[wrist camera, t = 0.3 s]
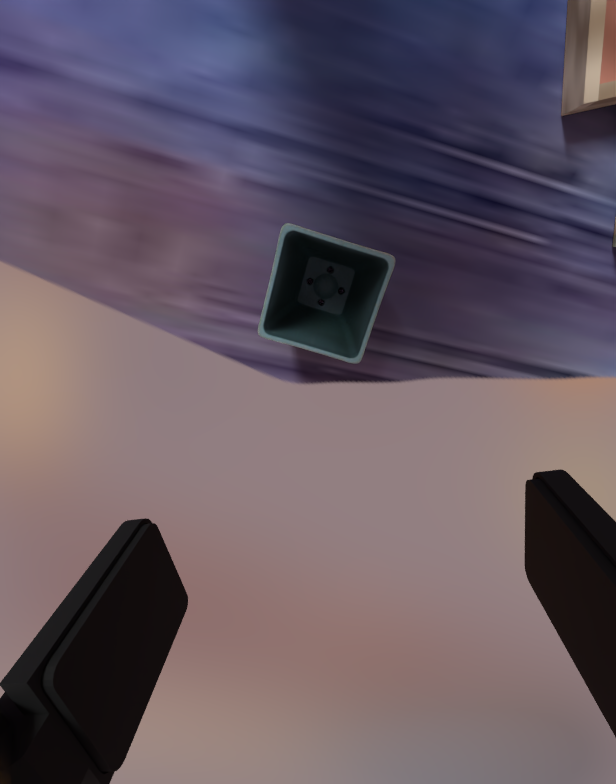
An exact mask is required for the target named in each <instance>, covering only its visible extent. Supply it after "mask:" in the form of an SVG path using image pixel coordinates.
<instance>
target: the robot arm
mask: <svg viewBox="0 0 616 784" xmlns="http://www.w3.org/2000/svg"><path fill="white" fill-rule="evenodd" d="M525 571H526V575H527V578H528V580H529V582H530V584H531V586H532V588H533V590H534V592H535V593H536V595H537V597H538V599H539V600H540V602H541V604H542V606H543V607H544V609H545V611H546V613H547V615H548V617H549V619H550V620H551V622H552V624H553V626H554V627H555V629H556V631H557V633H558V635H559V636H560V638H561V640H562V642H563V643H564V645H565V647H566V649H567V651H568V653H569V654H570V656H571V658H572V660H573V662H574V663H575V665H576V667H577V669H578V671H579V672H580V674H581V676H582V678H583V679H584V681H585V683H586V685H587V686H588V688H589V690H590V692H591V694H592V696H593V697H594V699H595V701H596V703H597V705H598V706H599V708H600V710H601V712H602V713H603V715H604V717H605V719H606V721H607V722H608V724H609V726H610V728H611V730H612V731H613V733H614V735H615V737H616V522H615V521H614V520H613V519H612V518H611V517H610V516H609V515H608V514H607V513H606V512H605V511H604V510H603V509H602V507H601V506H600V505H599V504H598V503H597V502H596V501H594V499H593V498H592V497H591V496H590V495H589V494H587V492H586V491H585V490H584V489H583V488H582V487H581V486H580V485H579V484H578V483H577V482H576V481H575V480H574V479H573V478H572V477H571V476H570V475H569V474H568V473H567V472H566V471H564V470H553V471H545V472H537V473H534V475H533V479H532V480H527V481H526V492H525ZM187 605H188V596H187V594H186V591H185V589H184V586H183V584H182V582H181V579H180V577H179V575H178V573H177V570H176V568H175V566H174V563H173V561H172V559H171V556H170V554H169V552H168V550H167V547H166V545H165V543H164V540H163V538H162V536H161V533H160V531H159V529H158V527H157V525H156V524H153V523H152V522H151V521H150V520H149V519H137V520H129V521H125V522H124V523H123V524H122V525H121V526H120V527H119V529H118V530H117V531H116V532H115V534H114V535H113V536H112V538H111V539H110V540H109V541H108V543H107V544H106V545H105V547H104V548H103V549H102V551H101V552H100V553H99V554H98V556H97V557H96V558H95V560H94V561H93V562H92V564H91V565H90V566H89V568H88V569H87V570H86V571H85V573H84V574H83V575H82V577H81V578H80V579H79V581H78V582H77V584H76V585H75V586H74V587H73V588H72V590H71V591H70V592H69V594H68V595H67V596H66V598H65V599H64V600H63V602H62V603H61V604H60V605H59V607H58V608H57V609H56V611H55V612H54V613H53V615H52V616H51V617H50V619H49V620H48V621H47V623H46V624H45V625H44V626H43V628H42V629H41V630H40V632H39V633H38V634H37V636H36V637H35V638H34V640H33V641H32V642H31V643H30V645H29V646H28V647H27V649H26V650H25V651H24V653H23V654H22V655H21V657H20V658H19V659H18V660H17V662H16V663H15V664H14V666H13V667H12V668H11V670H10V671H9V672H8V674H7V675H6V676H5V677H4V679H3V680H2V681H1V683H0V686H1V687H2V688H3V690H4V691H5V693H4V694H3V695H2V697H1V698H0V784H109V783H110V781H111V779H112V776H113V774H114V771H117V770H118V769H119V768H120V767H121V765H122V764H123V762H124V760H125V758H126V755H127V753H128V750H129V747H130V746H131V743H132V741H133V738H134V736H135V733H136V731H137V729H138V726H139V724H140V721H141V719H142V716H143V714H144V711H145V709H146V706H147V704H148V702H149V699H150V697H151V695H152V692H153V690H154V687H155V685H156V682H157V680H158V677H159V675H160V673H161V670H162V668H163V665H164V663H165V661H166V658H167V656H168V653H169V651H170V649H171V646H172V644H173V641H174V639H175V636H176V634H177V631H178V629H179V627H180V624H181V622H182V619H183V617H184V614H185V612H186V609H187Z"/></svg>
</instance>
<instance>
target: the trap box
mask: <svg viewBox="0 0 616 784" xmlns="http://www.w3.org/2000/svg"><path fill="white" fill-rule="evenodd" d="M615 104H616V0H568V6H567V23H566V41H565V59H564V76H563V94H562V111H561V116H565V115H569V114H574V113H578V112H583V111H588V110H592V109H597V108H601V107H606V106H610V105H615ZM612 247H616V219H615V228H614V237H613V246H612Z"/></svg>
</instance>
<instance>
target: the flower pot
mask: <svg viewBox="0 0 616 784" xmlns="http://www.w3.org/2000/svg"><path fill="white" fill-rule="evenodd" d="M394 266H395V258H394V256H393V255H391V254H388V253H385V252H381V251H378V250H375V249H371V248H368V247H364V246H361V245H358V244H354V243H351V242H348V241H345V240H341V239H338V238H335V237H332V236H328V235H325V234H322V233H319V232H316V231H313V230H309V229H306V228H303V227H300V226H297V225H294V224H290V223H286V224H284V225H283V227H282V228H281V231H280V235H279V240H278V245H277V250H276V254H275V259H274V263H273V268H272V272H271V277H270V281H269V285H268V289H267V293H266V297H265V302H264V306H263V310H262V314H261V318H260V322H259V326H258V334H259V336H261V337H263V338H266V339H269V340H273V341H276V342H280V343H283V344H288V345H291V346H295V347H298V348H302V349H305V350H309V351H312V352H315V353H319V354H322V355H326V356H329V357H332V358H335V359H339V360H342V361H345V362H348V363H352V364H358V363H359V362H360V361H361V360H362V357H363V354H364V352H365V348H366V345H367V342H368V339H369V337H370V333H371V330H372V327H373V324H374V322H375V318H376V316H377V313H378V310H379V307H380V304H381V301H382V299H383V296H384V293H385V291H386V288H387V285H388V282H389V280H390V277H391V275H392V272H393V269H394ZM329 267H332V268H333V271H332V272H331V273H329V272H328V268H329ZM308 279H312V281H313V283H312V284H308V283H307V280H308ZM340 288H342V289H343V290H344V292H343V293H342V294H340V293H339V289H340ZM321 299H322V300H323V301H324V303H323V304H322V305H320V304H319V303H318V301H319V300H321Z"/></svg>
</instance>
